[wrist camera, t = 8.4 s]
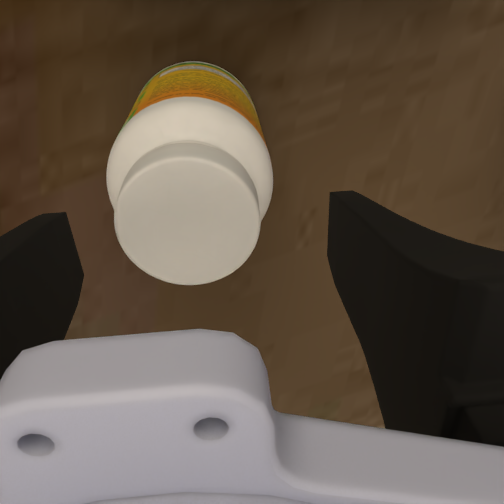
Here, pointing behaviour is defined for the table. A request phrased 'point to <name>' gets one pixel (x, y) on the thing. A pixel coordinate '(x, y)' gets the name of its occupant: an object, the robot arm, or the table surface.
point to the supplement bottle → (190, 175)
